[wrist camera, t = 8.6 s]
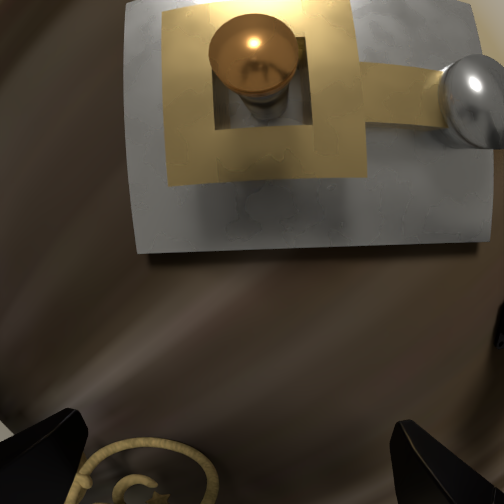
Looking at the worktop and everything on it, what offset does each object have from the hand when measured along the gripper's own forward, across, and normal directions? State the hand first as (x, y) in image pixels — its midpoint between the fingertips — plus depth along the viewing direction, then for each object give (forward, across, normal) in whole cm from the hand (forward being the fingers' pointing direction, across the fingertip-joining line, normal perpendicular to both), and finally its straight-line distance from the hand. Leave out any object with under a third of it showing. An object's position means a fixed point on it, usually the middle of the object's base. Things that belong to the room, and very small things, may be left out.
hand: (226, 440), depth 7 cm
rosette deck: (+13, -4, -10) cm, 17 cm away
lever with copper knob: (+12, -1, -10) cm, 15 cm away
